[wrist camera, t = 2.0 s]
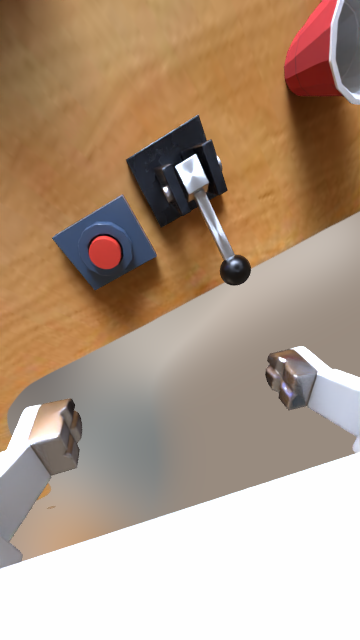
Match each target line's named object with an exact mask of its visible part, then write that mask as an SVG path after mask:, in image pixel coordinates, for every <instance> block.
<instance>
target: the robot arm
mask: <svg viewBox="0 0 360 640" xmlns="http://www.w3.org/2000/svg"><path fill="white" fill-rule="evenodd" d="M267 361H268V362H269V364H270V365H269V366H268V367H267V368H266V374H265V375H266V379H267V382H268V384H269V386H270V387H271V388H272V390H274V391H276V392H278V393H279V399H280V400H281V401H282V403H283V404H284V405H285V406H286V408H287V409H288V410H292V409H296V408H300V407H304V406H307V407H308V408H310V409H311V410H313V411H315V412H316V413H318V414H320V415H321V416H323V417H325V418H326V419H328V420H330V421H331V422H333V423H335V424H336V425H338V426H340V427H341V428H343V429H345V430H346V431H348V432H350V433H351V434H353V435H355V436H356V437H357V439H356V440H355V443H354V444H353V451H354V452H355V453H356V454H353V455H350V456H347V457H344V458H341V459H338V460H335V461H332V462H328V463H325V464H323V465H319V466H316V467H313V468H310V469H307V470H304V471H301V472H298V473H295V474H292V475H288V476H285V477H282V478H279V479H276V480H273V481H270V482H267V483H264V484H260V485H257V486H254V487H251V488H248V489H245V490H242V491H239V492H236V493H233V494H229V495H226V496H223V497H220V498H218V499H214V500H211V501H208V502H205V503H202V504H199V505H196V506H192V507H189V508H186V509H183V510H180V511H177V512H174V513H171V514H168V515H164V516H161V517H159V518H155V519H152V520H149V521H146V522H143V523H140V524H137V525H134V526H131V527H128V528H124V529H122V530H118V531H115V532H112V533H109V534H106V535H103V536H100V537H97V538H94V539H90V540H87V541H84V542H81V543H78V544H75V545H72V546H69V547H66V548H63V549H60V550H57V551H54V552H50V553H47V554H44V555H41V556H38V557H35V558H32V559H29V560H26V561H23V562H21V561H22V556H23V555H22V553H21V552H20V551H19V550H18V549H17V548H16V547H14V546H13V545H12V544H11V543H10V540H11V538H12V537H13V536H14V534H15V532H16V531H17V529H18V528H19V526H20V525H21V523H22V522H23V520H24V519H25V517H26V516H27V514H28V512H29V511H30V509H31V508H32V506H33V505H34V503H35V502H36V500H37V499H38V497H39V496H40V494H41V493H42V491H43V489H44V488H45V486H46V485H47V483H48V482H49V480H50V479H51V475H55V474H58V473H61V472H65V471H68V470H72V469H75V468H77V463H78V457H79V447H78V445H77V443H78V441H79V440H80V439H81V436H82V422H81V417H80V415H79V413H78V412H76V411H74V408H75V404H74V402H73V400H72V399H65V400H60V401H55V402H50V403H46V404H41V405H37V406H32V407H27V408H26V409H25V410H24V411H23V413H22V415H21V418H20V420H19V422H18V425H17V427H16V429H15V432H14V434H13V436H12V439H11V441H10V443H9V446H8V448H7V450H6V451H3V452H1V453H0V640H360V378H359V377H356V376H353V375H351V374H348V373H345V372H342V371H339V370H337V369H334V370H332V369H331V368H329V367H328V366H327V365H326V364H325V363H323V362H322V361H321V360H320V359H319V358H317V357H316V356H315V355H314V354H313V353H311V352H310V351H309V350H308V349H306V348H305V347H302V346H300V347H296V348H292V349H288V350H284V351H279V352H275V353H271V354H270V355H269V356H268V360H267Z"/></svg>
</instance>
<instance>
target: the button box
mask: <svg viewBox="0 0 360 640" xmlns="http://www.w3.org/2000/svg"><path fill="white" fill-rule="evenodd" d="M99 236H109V237H112V238H114V239H115V240H116V241H117V242H118V243H119V245H120V247H121V259H120V262H119V263H118V265H117V266H115V267H114V268H111V269H102V268H99V267H97V266H96V265H95V264H94V263H93V262H92V261H91V259H90V257H89V248H90V245H91V244H92V242H93V240H94V239H95V238H97V237H99ZM52 239H53V240H54V241H55V243H56V244H57V245H58V246H59V247H60V249H61V250H62V251H63V252H64V253H65V255H66V256H67V257H68V258H69V260H70V261H71V262H72V263H73V264H74V266H75V267H76V268H77V269H78V270H79V272H80V273H81V274H82V275H83V277H84V278H85V279H86V280H87V281H88V283H89V284H90V285H91V286H92V288H93V289H94V290H97V289H99V288H100V287H102V286H104V285H106V284H108V283H109V282H111V281H113V280H115V279H117V278H118V277H120V276H122V275H124V274H126V273H127V272H129V271H131V270H133V269H135V268H136V267H138V266H140V265H142V264H144V263H145V262H147V261H149V260H151V259H153V258H154V257H156V252H155V250H154V248H153V247H152V245H151V243H150V241H149V239H148V238H147V236H146V234H145V232H144V231H143V229H142V227H141V225H140V224H139V222H138V220H137V218H136V217H135V215H134V213H133V211H132V210H131V208H130V206H129V204H128V202H127V201H126V199H125V197H124V195H123V194H122V195H121V196H119V197H117V198H116V199H114V200H112V201H111V202H109V203H107V204H106V205H104V206H102V207H101V208H99V209H97V210H96V211H94V212H92V213H91V214H89V215H87V216H86V217H84V218H82V219H81V220H79V221H77V222H76V223H74V224H73V225H71V226H69V227H68V228H66V229H64V230H63V231H61V232H59V233H58V234H56V235H55V236H54V237H53V238H52Z"/></svg>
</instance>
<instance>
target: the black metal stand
mask: <svg viewBox="0 0 360 640" xmlns="http://www.w3.org/2000/svg"><path fill="white" fill-rule="evenodd" d="M195 154H196V155H197V158H198V160H199V162H200V164H201V166H202V168H203V171H204V173H205V175H206V177H207V179H208V181H209V185H208V189H207V192H205V193H206V195H207V197H208V199H209V200H211V199H212V198H214V197H216V196H218V195H221V194H222V193H224V192H226V191H227V187H226V184H225V180H224V177H223V174H222V164H221V161H220V159H219V158H218V156H217V155H216V152H215V149H214V146H213V142H212V140H208V141H207V140H206V137H205V133H204V130H203V127H202V124H201V121H200V118H199V115H197V116H195V117H194V118H192V119H191V120H189V121H187V122H186V123H184V124H183V125H181V126H179V127H178V128H176V129H175V130H173V131H171V132H170V133H168V134H166V135H165V136H163V137H162V138H160V139H158V140H157V141H155V142H154V143H152V144H150V145H149V146H147V147H146V148H144V149H142V150H141V151H139V152H138V153H136V154H134V155H133V156H131V157H130V158H128V159H126V161H127V163H128V165H129V167H130V169H131V171H132V173H133V175H134V177H135V178H136V180H137V182H138V184H139V186H140V188H141V190H142V192H143V194H144V196H145V198H146V200H147V202H148V204H149V206H150V207H151V209H152V211H153V213H154V215H155V217H156V219H157V221H158V223H159V225H160V227H161V228H162V227H163V226H165V225H167V224H169V223H170V222H172V221H174V220H176V219H177V218H179V217H181V216H184V215H186V214H187V213H189V212H191V210H193V209H195V208H197V207H198V206H197V204H196V202H195V199H193V200H192V201H190V202H188V200H187V198H186V196H185V194H184V192H183V189H182V187H181V185H180V183H179V181H178V179H177V176H176V168H175V167H176V166H177V165H179V164H180V163H182V162H184V161H185V160H187V159H189V158H190V157H192V156H194V155H195Z"/></svg>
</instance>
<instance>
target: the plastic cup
mask: <svg viewBox="0 0 360 640" xmlns="http://www.w3.org/2000/svg"><path fill="white" fill-rule="evenodd" d="M284 69H285V80H286V83H287V85H288V88H289V90H291V91H292V92H293V93H294V94H295V95H298V96H306V97H307V96H320V97H323V96H343V97H345V98H346V99H347V100H348V101H349V102H350V103H352V104H359V105H360V0H322V1H321V3H320V4H319V5H318V6H317V8H316V9H315V10H314V11H313V13H312V14H311V15H310V17H309V18H308V20H307V22H306V23H305V24H304V26H303V27H302V28H301V29H300V31H299V32H298V33H297V34H296V36H295V38H294V40H293V42H292V44H291V46H290V48H289V50H288V52H287V56H286V61H285V66H284Z"/></svg>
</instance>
